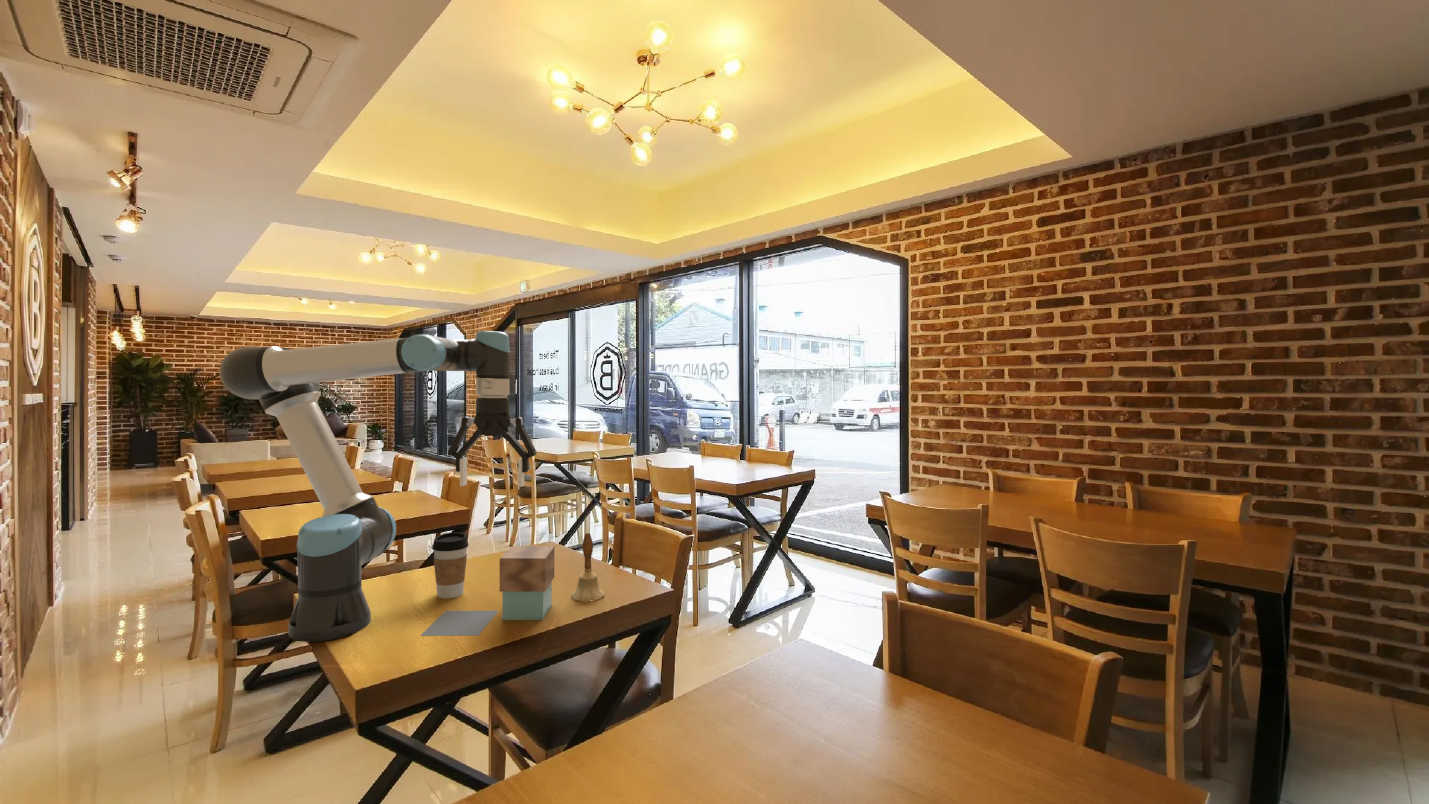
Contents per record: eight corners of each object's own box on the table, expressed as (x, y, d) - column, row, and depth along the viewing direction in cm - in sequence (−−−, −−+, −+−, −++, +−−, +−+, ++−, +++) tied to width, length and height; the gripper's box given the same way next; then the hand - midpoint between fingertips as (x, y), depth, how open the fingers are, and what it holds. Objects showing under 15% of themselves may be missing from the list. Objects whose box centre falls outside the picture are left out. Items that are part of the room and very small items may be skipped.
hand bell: (586, 604, 152) (587, 539, 151) (564, 596, 157) (564, 533, 156) (611, 595, 158) (612, 533, 158) (589, 588, 163) (590, 527, 163)
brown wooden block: (499, 591, 139) (499, 558, 139) (511, 577, 149) (512, 546, 149) (544, 591, 140) (545, 558, 140) (554, 577, 150) (554, 546, 150)
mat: (420, 637, 131) (420, 635, 131) (445, 612, 145) (445, 610, 145) (478, 637, 132) (478, 635, 132) (498, 612, 146) (498, 610, 146)
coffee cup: (474, 590, 160) (474, 532, 159) (457, 602, 151) (458, 541, 151) (443, 589, 161) (443, 531, 160) (424, 600, 152) (424, 539, 152)
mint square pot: (502, 621, 140) (502, 590, 140) (513, 606, 149) (513, 577, 149) (543, 621, 141) (543, 590, 140) (551, 606, 150) (551, 577, 149)
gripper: (432, 396, 144) (432, 487, 145) (542, 398, 145) (541, 489, 146) (445, 395, 152) (445, 482, 153) (549, 397, 153) (548, 483, 154)
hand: (492, 485), depth 149 cm, fingers open, 13 cm apart
